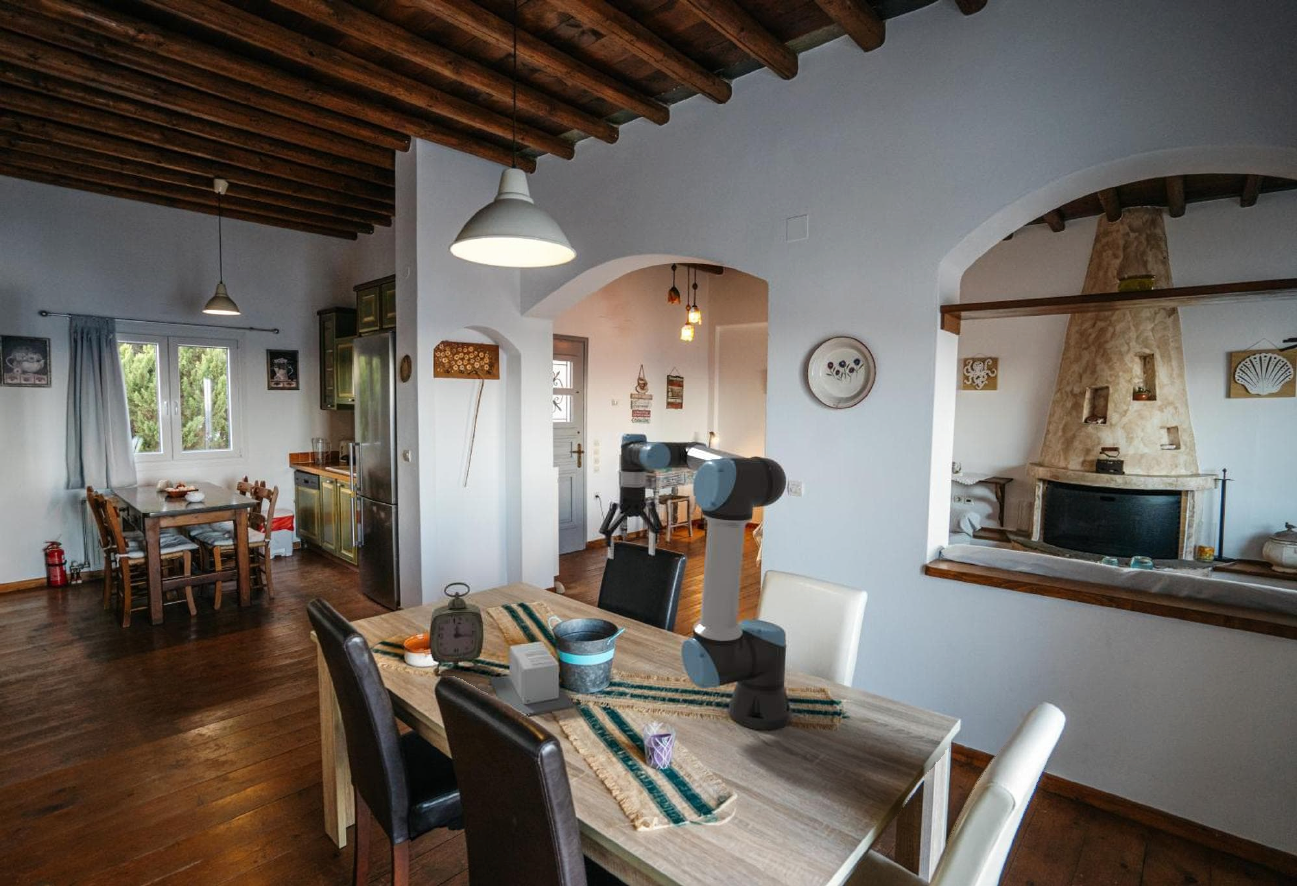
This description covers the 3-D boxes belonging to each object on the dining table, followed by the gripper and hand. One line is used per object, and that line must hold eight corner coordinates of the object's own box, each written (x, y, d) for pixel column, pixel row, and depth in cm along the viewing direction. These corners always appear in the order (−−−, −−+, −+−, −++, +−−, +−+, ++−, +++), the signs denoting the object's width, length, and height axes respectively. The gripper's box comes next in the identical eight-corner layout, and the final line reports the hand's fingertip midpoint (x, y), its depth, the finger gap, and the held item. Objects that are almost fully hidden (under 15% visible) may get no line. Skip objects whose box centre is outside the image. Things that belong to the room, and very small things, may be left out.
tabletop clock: (429, 677, 175) (430, 587, 174) (429, 664, 184) (430, 579, 183) (483, 671, 180) (484, 584, 179) (481, 659, 189) (482, 576, 187)
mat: (573, 707, 160) (573, 704, 160) (510, 718, 153) (510, 716, 153) (545, 671, 181) (545, 669, 181) (489, 680, 174) (489, 678, 174)
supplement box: (541, 673, 178) (559, 699, 163) (509, 679, 174) (523, 706, 159) (542, 640, 177) (559, 663, 162) (509, 644, 173) (524, 669, 158)
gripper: (664, 483, 198) (662, 550, 199) (589, 485, 187) (587, 556, 188) (675, 485, 191) (674, 555, 192) (598, 488, 180) (597, 562, 181)
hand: (631, 556), depth 190 cm, fingers open, 13 cm apart
